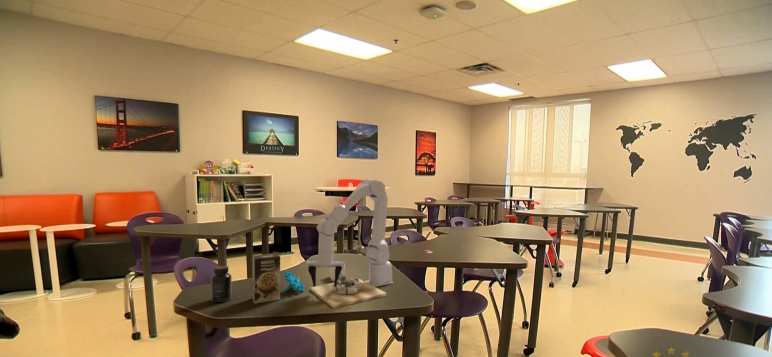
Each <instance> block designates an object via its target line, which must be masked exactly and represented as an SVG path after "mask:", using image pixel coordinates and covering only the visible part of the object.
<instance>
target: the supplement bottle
mask: <svg viewBox="0 0 772 357" xmlns="http://www.w3.org/2000/svg"><path fill="white" fill-rule="evenodd" d="M232 281H233V280H232V275H231V273H229V266H227V265H221V266H219V265H218V266H216V267H214V268H213V275H212V276H211V277H210V299H211V300H210V301H211V302H212V301H213V302H217V303H216V304H221V303H220V302H223V303H227V302H229V301H230V300H231V299H232V295H233V294H232V293H233V292H232V289H233V288H232V283H233V282H232ZM226 301H227V302H226ZM213 302H212V303H213ZM218 302H219V303H218Z"/></svg>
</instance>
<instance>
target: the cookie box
mask: <svg viewBox="0 0 772 357" xmlns="http://www.w3.org/2000/svg"><path fill="white" fill-rule="evenodd" d="M280 299H281V255H280V254H278V253H276V252H275V253H268V254H267V253H266V254H257V255H256V254H255V255H254V254H253V255H252V301H253V303H254V304H261V303H267V302H274V301H279V300H280Z"/></svg>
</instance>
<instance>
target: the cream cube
mask: <svg viewBox="0 0 772 357" xmlns="http://www.w3.org/2000/svg"><path fill="white" fill-rule="evenodd" d="M328 268H329V270H328V272H329V273H328V274H329V278H330V280H331V281H333V282H335V268H336V267H328ZM346 271H347V270H346V265H345V267H344V268H342V270H341V273H342V274H343V275H344V276H345V277H346V278H347V276H346V275H347V274H346V273H347V272H346Z"/></svg>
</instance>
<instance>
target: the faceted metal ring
mask: <svg viewBox="0 0 772 357" xmlns="http://www.w3.org/2000/svg"><path fill="white" fill-rule="evenodd" d="M354 278H355V277H350V278H349V279H348V280H351V281H352V286H349V287H345V285H343V281H344V280H347V276H346V277H345V276H344V275H343V274H342V273H340V275H339V277H338V280H337V285H336V286H334V283H335V282H332V283H333V285H332V290H333V291H334V292H335V293H337V294H354V293H357V292H360V291H361V290H362V283H361V282H360V281H357V280H354Z"/></svg>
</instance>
